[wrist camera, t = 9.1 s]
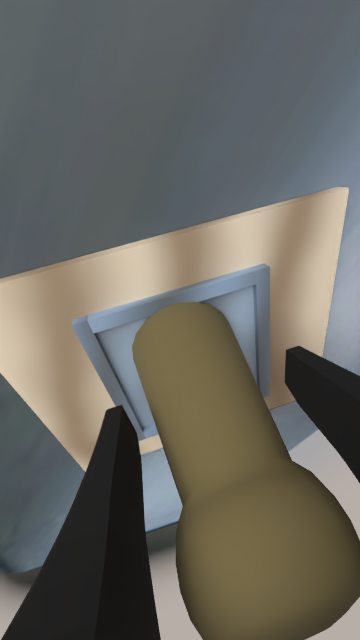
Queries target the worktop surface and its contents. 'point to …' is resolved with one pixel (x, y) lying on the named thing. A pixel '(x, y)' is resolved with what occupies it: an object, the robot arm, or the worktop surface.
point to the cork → (240, 490)
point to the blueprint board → (161, 292)
